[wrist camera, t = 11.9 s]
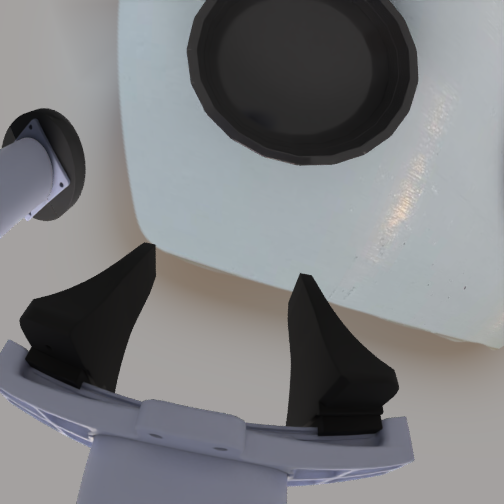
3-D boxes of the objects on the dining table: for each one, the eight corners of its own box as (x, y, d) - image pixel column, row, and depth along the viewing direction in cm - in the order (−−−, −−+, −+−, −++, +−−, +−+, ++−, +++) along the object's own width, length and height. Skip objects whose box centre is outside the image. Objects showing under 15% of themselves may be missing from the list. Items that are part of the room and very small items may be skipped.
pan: (250, 174, 20) (246, 195, 17) (173, 22, 14) (152, 11, 10) (412, 122, 17) (439, 134, 14) (348, -34, 10) (364, -54, 7)
